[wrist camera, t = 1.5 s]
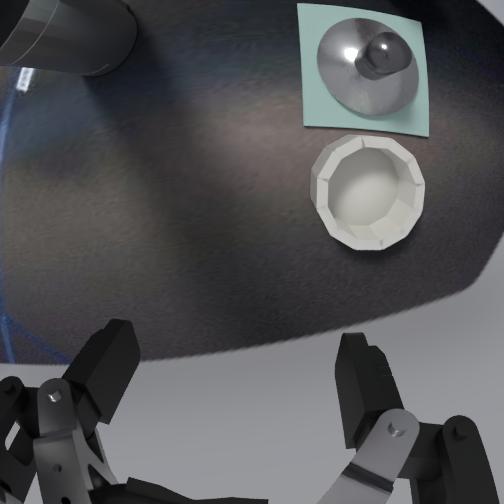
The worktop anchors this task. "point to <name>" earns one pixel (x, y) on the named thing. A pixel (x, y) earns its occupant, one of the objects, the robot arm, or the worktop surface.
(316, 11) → the mat
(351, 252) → the worktop surface
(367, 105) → the lid
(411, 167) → the dish
